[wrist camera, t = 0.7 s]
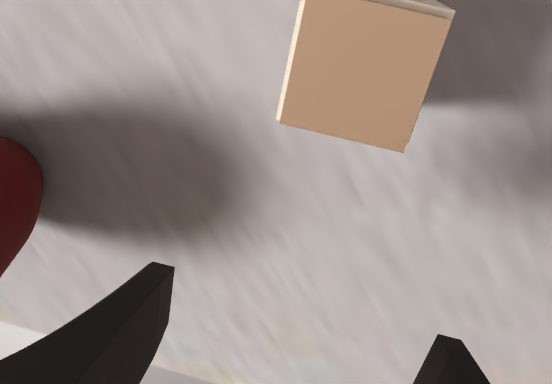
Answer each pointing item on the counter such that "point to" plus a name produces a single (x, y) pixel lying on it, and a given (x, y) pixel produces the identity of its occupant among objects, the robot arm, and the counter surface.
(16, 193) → the mug
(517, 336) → the counter surface
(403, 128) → the beige rectangular block
